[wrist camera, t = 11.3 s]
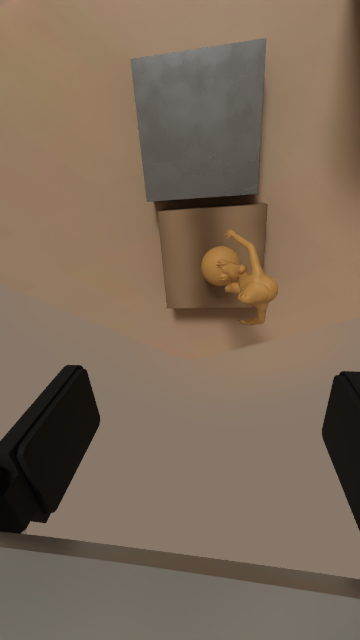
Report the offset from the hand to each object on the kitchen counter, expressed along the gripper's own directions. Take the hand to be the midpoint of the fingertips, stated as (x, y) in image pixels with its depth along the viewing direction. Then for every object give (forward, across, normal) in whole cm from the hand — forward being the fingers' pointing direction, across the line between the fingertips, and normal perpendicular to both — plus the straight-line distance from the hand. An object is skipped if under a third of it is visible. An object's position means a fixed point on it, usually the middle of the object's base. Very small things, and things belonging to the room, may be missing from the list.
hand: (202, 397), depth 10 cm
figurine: (+22, -2, 0) cm, 22 cm away
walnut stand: (+24, 0, 0) cm, 24 cm away
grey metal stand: (+24, +1, -12) cm, 27 cm away
